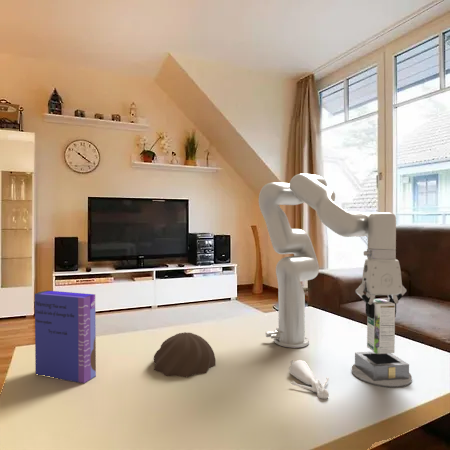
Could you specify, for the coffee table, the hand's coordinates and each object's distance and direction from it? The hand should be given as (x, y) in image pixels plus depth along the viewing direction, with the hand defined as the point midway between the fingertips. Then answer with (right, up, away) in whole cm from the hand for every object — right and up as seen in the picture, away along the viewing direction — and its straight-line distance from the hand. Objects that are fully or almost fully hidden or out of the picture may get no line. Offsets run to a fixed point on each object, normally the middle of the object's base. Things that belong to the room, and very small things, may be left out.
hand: (380, 316), depth 104 cm
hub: (0, -17, 0) cm, 17 cm away
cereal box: (-92, -17, 0) cm, 93 cm away
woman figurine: (-22, -18, -6) cm, 29 cm away
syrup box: (0, -10, 0) cm, 10 cm away
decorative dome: (-58, -18, +8) cm, 61 cm away
